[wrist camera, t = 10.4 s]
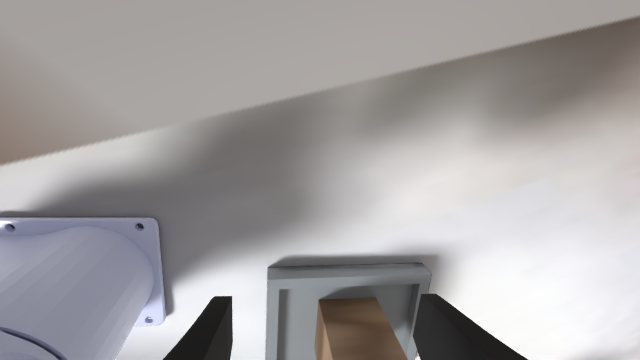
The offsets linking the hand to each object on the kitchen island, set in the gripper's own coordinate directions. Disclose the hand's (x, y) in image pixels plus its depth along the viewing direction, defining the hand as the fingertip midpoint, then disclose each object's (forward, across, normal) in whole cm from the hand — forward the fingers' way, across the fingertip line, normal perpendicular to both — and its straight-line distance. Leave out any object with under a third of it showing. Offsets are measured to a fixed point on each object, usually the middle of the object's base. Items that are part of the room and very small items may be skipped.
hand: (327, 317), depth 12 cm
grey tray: (+10, -3, +10) cm, 15 cm away
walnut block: (+10, -3, +9) cm, 14 cm away
